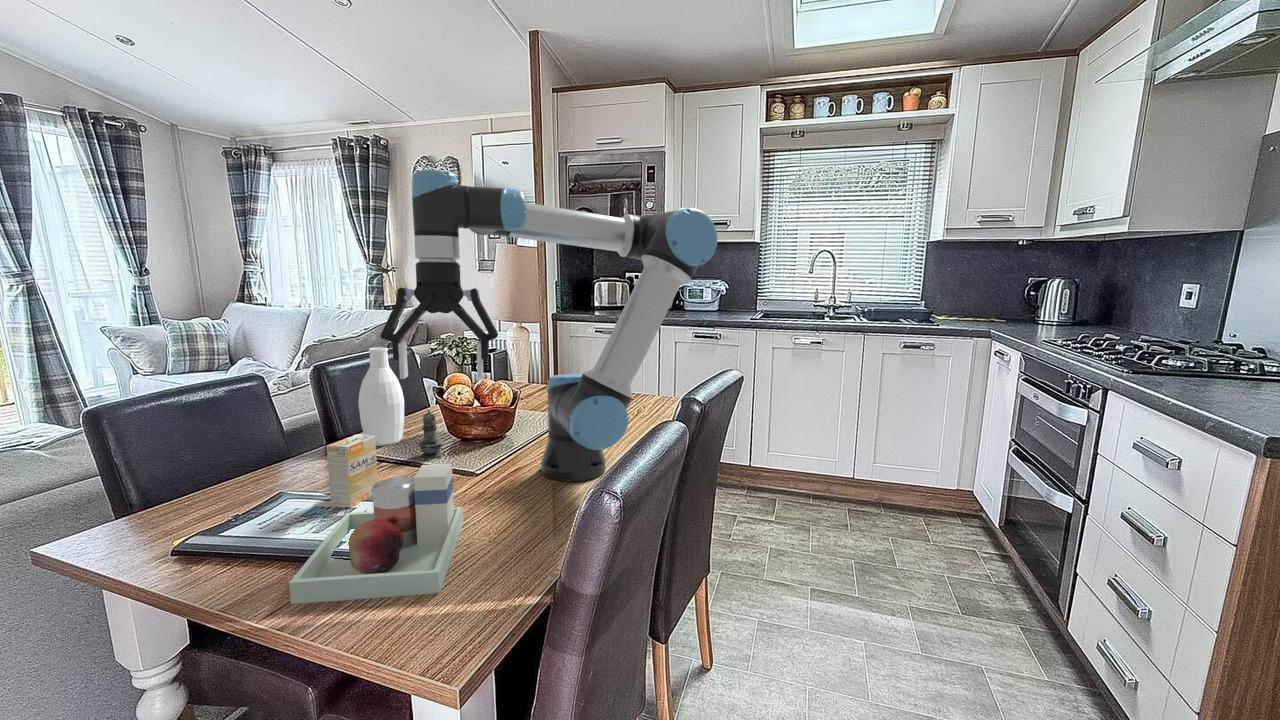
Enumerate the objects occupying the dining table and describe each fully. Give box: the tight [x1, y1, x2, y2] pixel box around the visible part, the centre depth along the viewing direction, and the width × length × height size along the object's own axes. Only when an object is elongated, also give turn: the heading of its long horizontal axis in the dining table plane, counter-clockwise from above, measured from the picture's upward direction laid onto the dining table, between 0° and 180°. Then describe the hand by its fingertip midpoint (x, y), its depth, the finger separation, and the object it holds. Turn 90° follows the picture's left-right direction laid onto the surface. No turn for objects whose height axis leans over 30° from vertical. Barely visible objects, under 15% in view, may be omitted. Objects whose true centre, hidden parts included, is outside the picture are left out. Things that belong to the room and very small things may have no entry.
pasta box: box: [413, 463, 455, 546], centre depth 94 cm, size 5×6×12 cm
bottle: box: [358, 346, 405, 447], centre depth 147 cm, size 11×11×25 cm
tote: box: [288, 506, 464, 605], centre depth 88 cm, size 20×22×4 cm
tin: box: [372, 476, 417, 549], centre depth 93 cm, size 7×7×10 cm
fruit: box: [348, 519, 404, 574], centre depth 83 cm, size 8×8×8 cm
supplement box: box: [326, 433, 378, 508], centre depth 109 cm, size 8×5×13 cm, turn 168°
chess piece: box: [417, 409, 444, 460], centre depth 137 cm, size 6×6×12 cm
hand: (442, 377), depth 102 cm, fingers open, 13 cm apart
